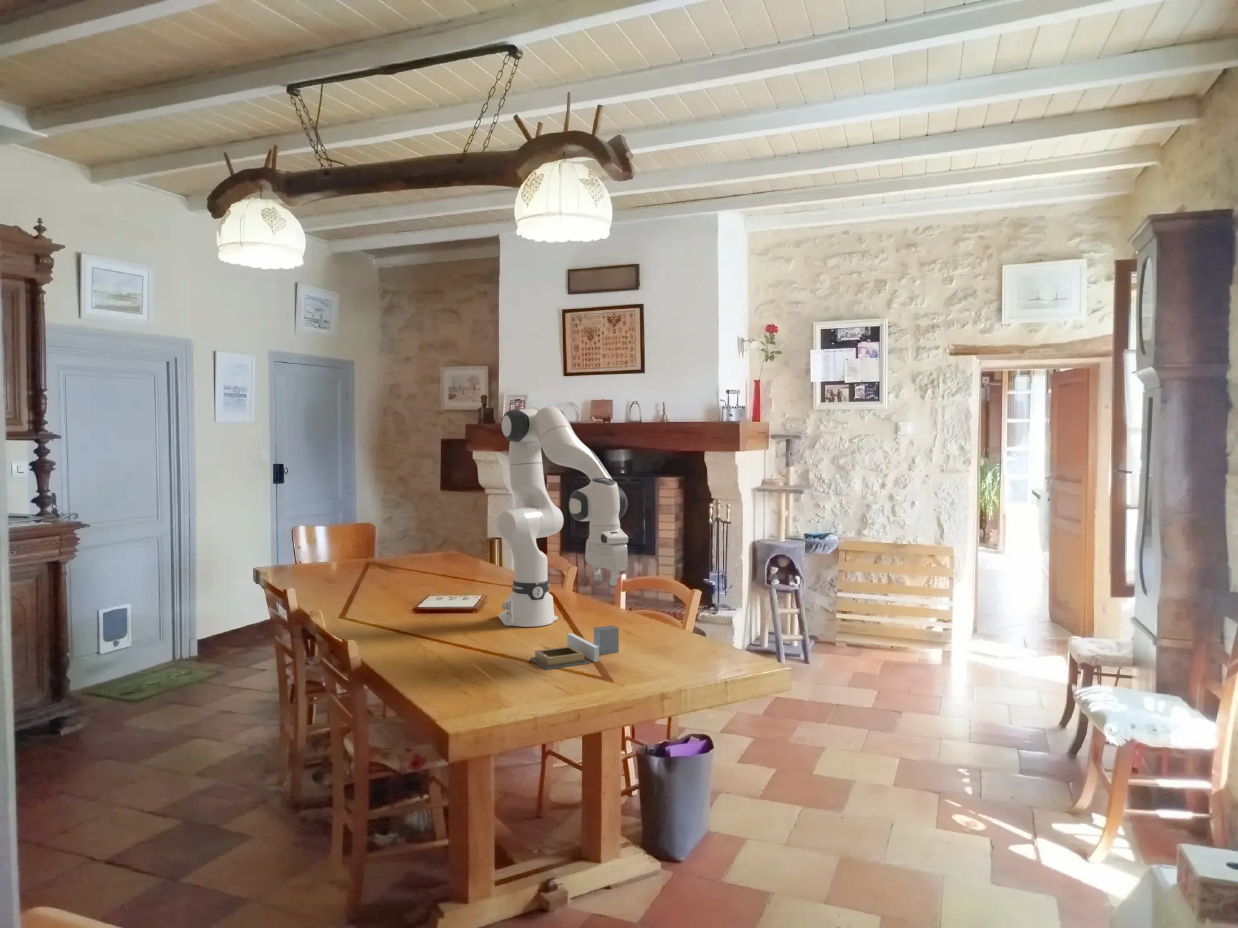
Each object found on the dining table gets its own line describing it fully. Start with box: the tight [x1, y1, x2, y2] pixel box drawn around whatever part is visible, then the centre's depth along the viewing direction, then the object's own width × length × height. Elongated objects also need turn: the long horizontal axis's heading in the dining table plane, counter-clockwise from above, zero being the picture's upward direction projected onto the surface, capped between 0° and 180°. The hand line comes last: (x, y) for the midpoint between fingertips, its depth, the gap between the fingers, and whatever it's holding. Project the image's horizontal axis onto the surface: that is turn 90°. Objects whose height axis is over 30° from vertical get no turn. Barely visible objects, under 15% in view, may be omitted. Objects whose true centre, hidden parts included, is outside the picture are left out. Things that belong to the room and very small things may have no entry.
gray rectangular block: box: [593, 624, 620, 656], centre depth 241 cm, size 4×6×7 cm, turn 118°
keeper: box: [529, 646, 590, 671], centre depth 231 cm, size 11×13×3 cm
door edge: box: [566, 632, 600, 663], centre depth 239 cm, size 18×2×4 cm, turn 28°
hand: (605, 582), depth 240 cm, fingers open, 8 cm apart
